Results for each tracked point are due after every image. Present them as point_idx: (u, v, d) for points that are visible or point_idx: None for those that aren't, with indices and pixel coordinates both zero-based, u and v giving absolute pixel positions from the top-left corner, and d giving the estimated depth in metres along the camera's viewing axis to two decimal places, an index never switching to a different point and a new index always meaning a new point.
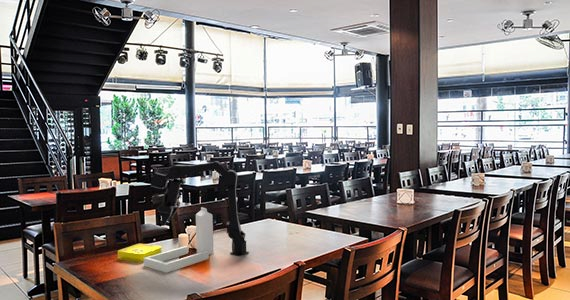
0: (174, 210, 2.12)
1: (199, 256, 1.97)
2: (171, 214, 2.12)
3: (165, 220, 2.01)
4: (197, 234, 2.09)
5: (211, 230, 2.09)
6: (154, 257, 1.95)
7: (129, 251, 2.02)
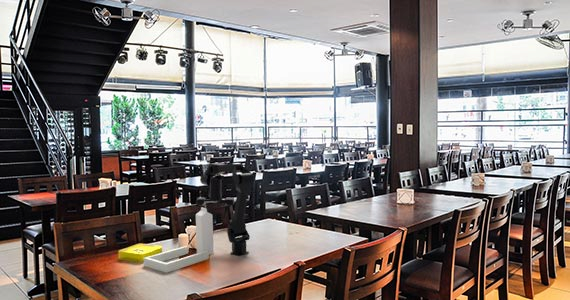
0: (225, 207, 2.22)
1: (199, 256, 1.97)
2: None
3: None
4: (197, 234, 2.09)
5: (211, 230, 2.09)
6: (154, 257, 1.95)
7: (130, 251, 2.02)
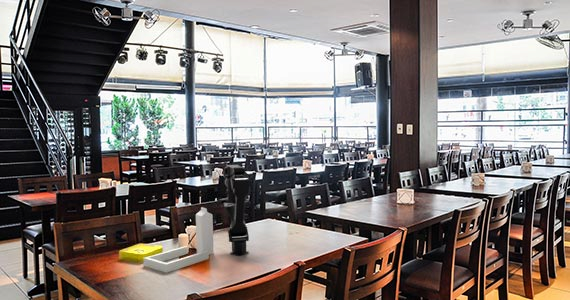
0: None
1: (199, 256, 1.97)
2: (234, 213, 2.21)
3: None
4: (197, 234, 2.09)
5: (211, 230, 2.09)
6: (154, 257, 1.95)
7: (130, 251, 2.02)
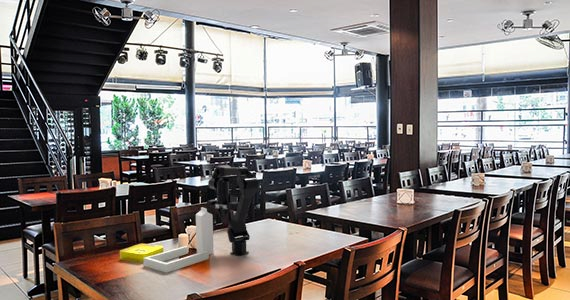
0: None
1: (199, 256, 1.97)
2: None
3: None
4: (197, 234, 2.09)
5: (211, 230, 2.09)
6: (154, 257, 1.95)
7: (131, 251, 2.02)
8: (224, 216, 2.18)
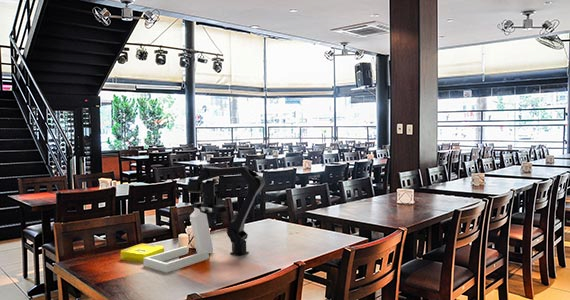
0: None
1: (199, 256, 1.97)
2: None
3: None
4: (194, 235, 2.08)
5: (207, 229, 2.07)
6: (154, 257, 1.95)
7: (132, 251, 2.02)
8: (210, 219, 2.11)
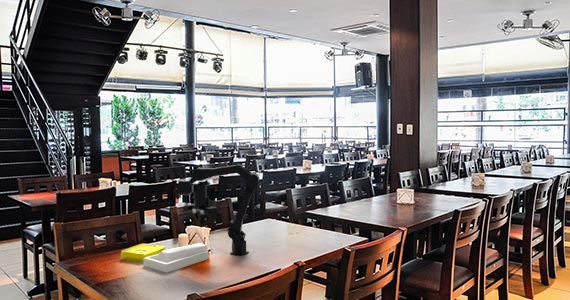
0: None
1: (199, 256, 1.97)
2: None
3: None
4: None
5: None
6: (154, 257, 1.95)
7: (132, 251, 2.02)
8: (201, 221, 2.07)
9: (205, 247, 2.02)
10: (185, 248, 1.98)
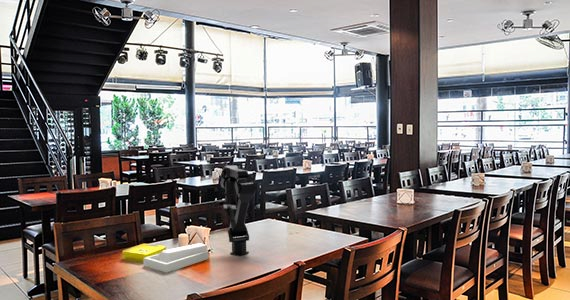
0: None
1: (199, 256, 1.97)
2: None
3: None
4: None
5: None
6: (154, 257, 1.95)
7: (133, 251, 2.02)
8: (232, 216, 2.18)
9: (205, 247, 2.02)
10: (185, 248, 1.98)
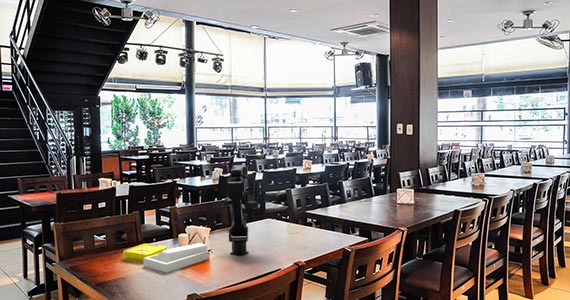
0: None
1: (199, 256, 1.97)
2: None
3: None
4: None
5: None
6: (154, 257, 1.95)
7: (134, 251, 2.02)
8: (241, 215, 2.20)
9: (205, 247, 2.02)
10: (185, 248, 1.98)
